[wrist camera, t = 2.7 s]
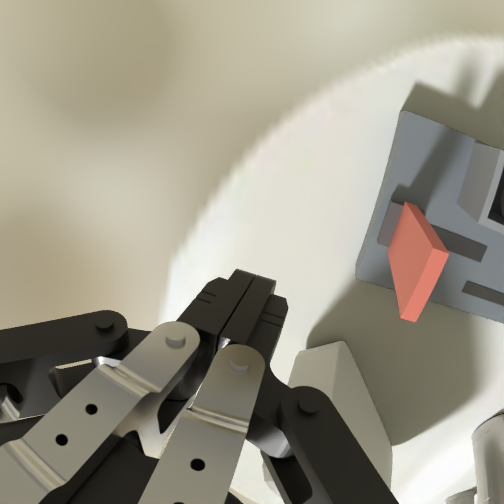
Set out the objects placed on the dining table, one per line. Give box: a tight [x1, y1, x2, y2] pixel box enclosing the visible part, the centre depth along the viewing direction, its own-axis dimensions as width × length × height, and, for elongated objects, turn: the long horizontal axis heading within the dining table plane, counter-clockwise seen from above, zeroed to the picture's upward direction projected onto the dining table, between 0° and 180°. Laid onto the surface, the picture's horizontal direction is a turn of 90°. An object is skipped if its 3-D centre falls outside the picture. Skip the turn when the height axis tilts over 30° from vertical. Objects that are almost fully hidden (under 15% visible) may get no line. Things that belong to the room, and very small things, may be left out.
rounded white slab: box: [262, 341, 392, 498], centre depth 30 cm, size 29×8×18 cm, turn 30°
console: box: [356, 111, 504, 323], centre depth 20 cm, size 21×15×8 cm
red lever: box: [377, 199, 449, 323], centre depth 18 cm, size 3×4×10 cm
